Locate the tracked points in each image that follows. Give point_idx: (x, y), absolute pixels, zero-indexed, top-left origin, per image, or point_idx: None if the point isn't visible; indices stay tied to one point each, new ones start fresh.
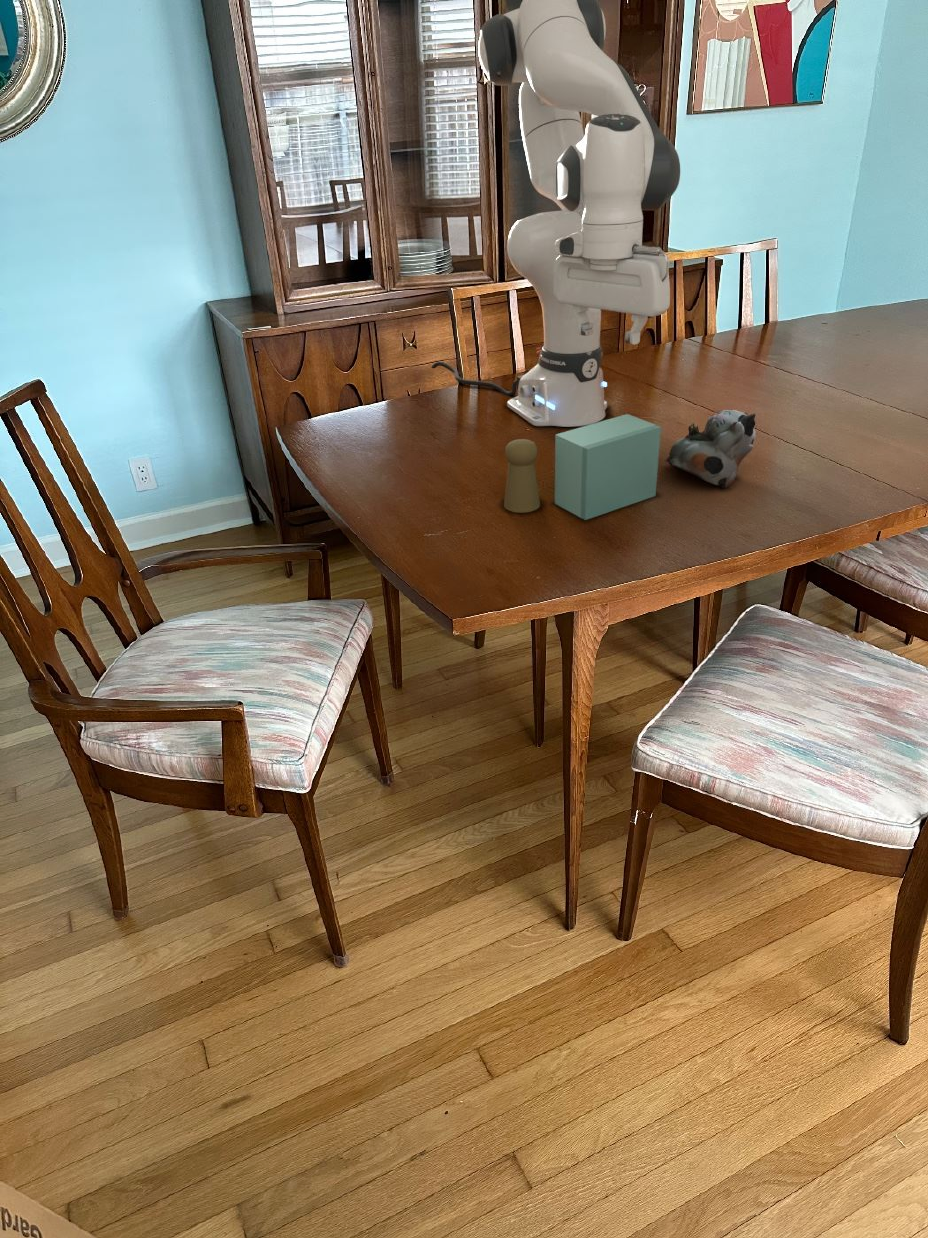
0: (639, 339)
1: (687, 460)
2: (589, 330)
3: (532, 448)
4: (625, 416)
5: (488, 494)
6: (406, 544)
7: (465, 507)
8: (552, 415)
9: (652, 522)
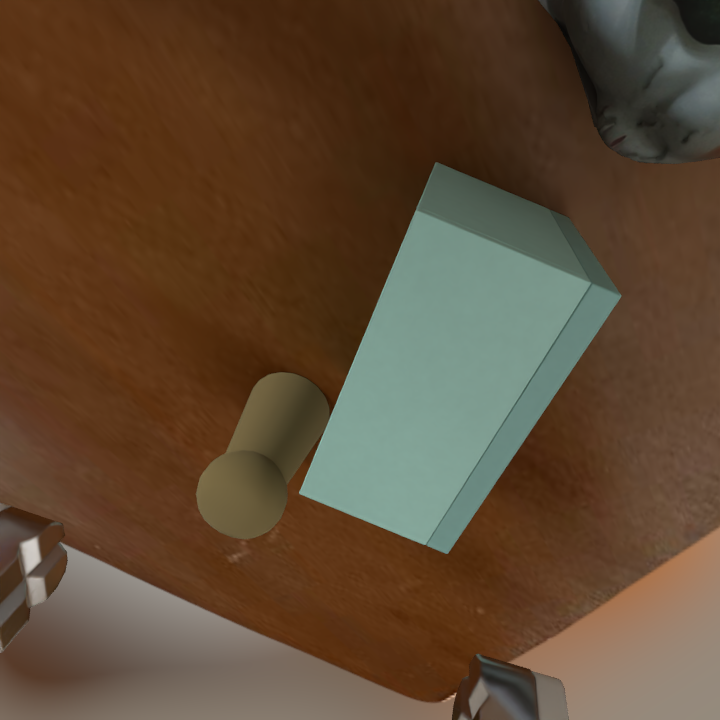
0: (563, 702)
1: (690, 156)
2: (35, 565)
3: (273, 514)
4: (424, 246)
5: (195, 393)
6: (230, 589)
7: (204, 458)
8: None
9: (611, 367)
